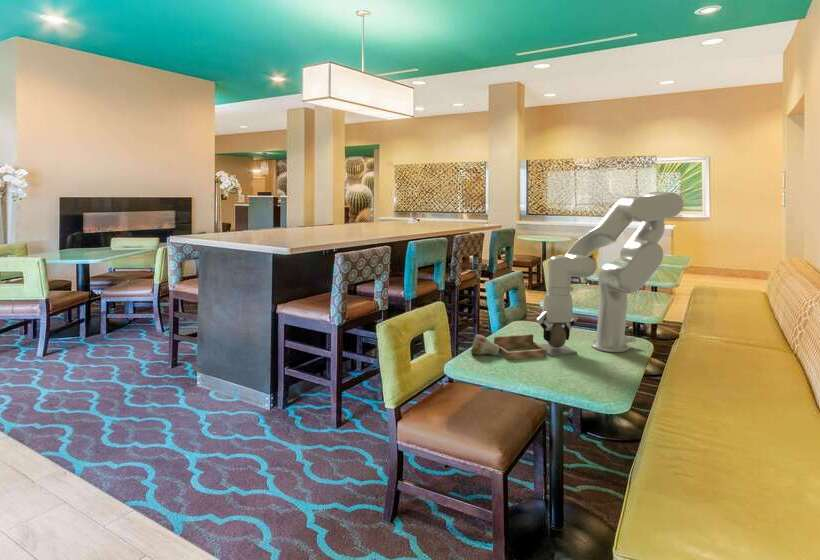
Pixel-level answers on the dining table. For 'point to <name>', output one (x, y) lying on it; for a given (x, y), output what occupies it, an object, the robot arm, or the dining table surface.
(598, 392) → the dining table surface
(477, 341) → the mug
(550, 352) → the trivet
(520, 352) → the wooden frame
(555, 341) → the vase
